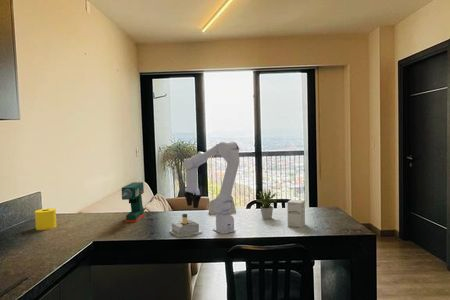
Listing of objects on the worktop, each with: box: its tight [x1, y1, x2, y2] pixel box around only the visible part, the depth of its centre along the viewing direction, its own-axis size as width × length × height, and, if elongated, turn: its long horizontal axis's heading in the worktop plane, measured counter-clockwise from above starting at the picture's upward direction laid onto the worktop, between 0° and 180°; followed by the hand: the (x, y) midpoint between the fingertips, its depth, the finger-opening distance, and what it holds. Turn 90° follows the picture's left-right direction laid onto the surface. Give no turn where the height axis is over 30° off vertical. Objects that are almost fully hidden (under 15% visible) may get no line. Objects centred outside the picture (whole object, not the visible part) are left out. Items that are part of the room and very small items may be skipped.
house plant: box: [255, 188, 280, 220], centre depth 193 cm, size 14×14×16 cm
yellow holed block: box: [34, 207, 57, 231], centre depth 189 cm, size 10×10×9 cm
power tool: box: [121, 181, 146, 223], centre depth 197 cm, size 32×7×20 cm, turn 179°
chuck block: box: [168, 219, 203, 238], centre depth 170 cm, size 12×12×4 cm
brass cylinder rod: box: [181, 213, 188, 225], centre depth 170 cm, size 2×2×8 cm
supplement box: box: [287, 199, 306, 228], centre depth 177 cm, size 7×7×13 cm
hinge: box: [208, 198, 237, 216], centre depth 212 cm, size 17×5×10 cm, turn 102°
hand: (192, 206), depth 183 cm, fingers open, 7 cm apart
